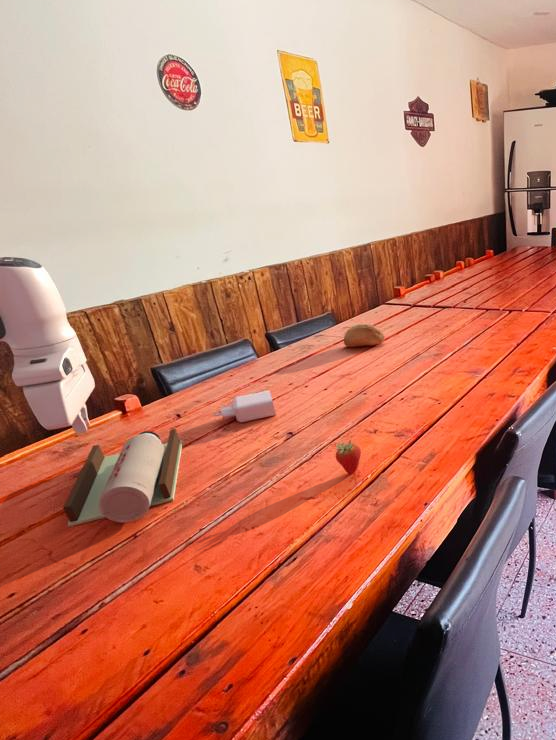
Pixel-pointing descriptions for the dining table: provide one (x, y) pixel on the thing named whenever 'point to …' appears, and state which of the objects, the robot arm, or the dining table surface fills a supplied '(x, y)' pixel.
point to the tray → (96, 475)
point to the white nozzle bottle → (249, 407)
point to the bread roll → (363, 335)
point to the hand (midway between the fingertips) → (83, 430)
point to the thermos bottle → (133, 479)
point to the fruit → (348, 456)
